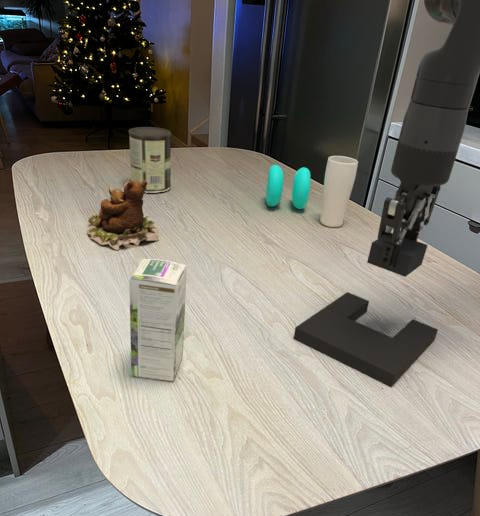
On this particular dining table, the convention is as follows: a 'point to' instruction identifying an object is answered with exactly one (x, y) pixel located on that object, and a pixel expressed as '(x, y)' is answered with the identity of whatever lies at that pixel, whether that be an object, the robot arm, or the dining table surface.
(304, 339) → the black notched slab
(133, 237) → the bear figurine
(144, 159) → the coffee can
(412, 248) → the graphite block
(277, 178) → the teal wheel pair
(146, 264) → the syrup box
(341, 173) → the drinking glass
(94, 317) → the dining table surface
